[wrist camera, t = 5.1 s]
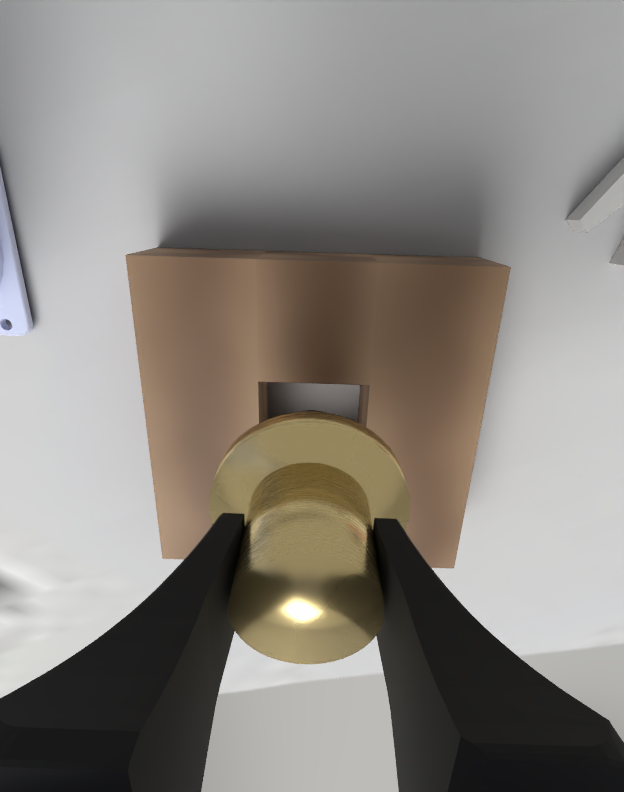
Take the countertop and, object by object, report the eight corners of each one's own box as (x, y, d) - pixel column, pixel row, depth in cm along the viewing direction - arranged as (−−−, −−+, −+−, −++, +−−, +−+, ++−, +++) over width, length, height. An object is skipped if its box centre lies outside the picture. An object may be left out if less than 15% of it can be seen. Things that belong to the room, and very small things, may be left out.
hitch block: (182, 513, 25) (162, 558, 22) (157, 247, 20) (125, 254, 17) (436, 521, 25) (453, 568, 22) (479, 257, 20) (510, 266, 17)
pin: (236, 508, 18) (190, 691, 12) (225, 370, 16) (158, 507, 9) (385, 510, 18) (422, 696, 12) (398, 372, 16) (455, 512, 9)
